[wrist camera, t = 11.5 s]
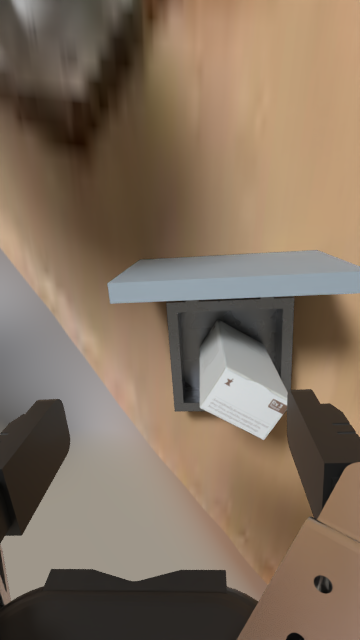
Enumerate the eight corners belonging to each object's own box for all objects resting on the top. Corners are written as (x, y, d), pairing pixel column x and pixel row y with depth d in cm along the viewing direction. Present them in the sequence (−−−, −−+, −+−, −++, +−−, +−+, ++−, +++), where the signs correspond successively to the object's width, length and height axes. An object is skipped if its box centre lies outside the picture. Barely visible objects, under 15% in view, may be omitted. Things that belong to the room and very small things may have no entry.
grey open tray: (285, 267, 35) (295, 274, 31) (282, 390, 39) (290, 411, 35) (169, 272, 36) (164, 280, 32) (178, 392, 40) (174, 412, 36)
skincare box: (198, 349, 38) (193, 410, 26) (218, 315, 36) (222, 365, 25) (246, 375, 38) (262, 446, 27) (268, 342, 37) (294, 403, 25)
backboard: (317, 250, 34) (371, 270, 23) (316, 265, 35) (368, 292, 23) (139, 259, 36) (107, 283, 24) (141, 273, 36) (110, 303, 25)
